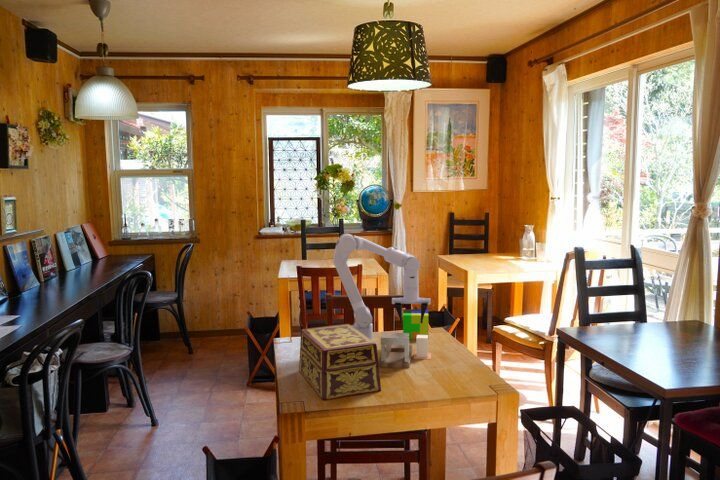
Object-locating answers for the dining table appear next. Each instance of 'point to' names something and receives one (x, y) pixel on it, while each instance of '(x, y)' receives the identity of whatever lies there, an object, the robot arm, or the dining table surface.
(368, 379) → the decorative box
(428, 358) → the terracotta tile
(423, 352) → the cream block
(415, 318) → the puzzle toy
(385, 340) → the sliding cover
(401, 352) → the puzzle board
